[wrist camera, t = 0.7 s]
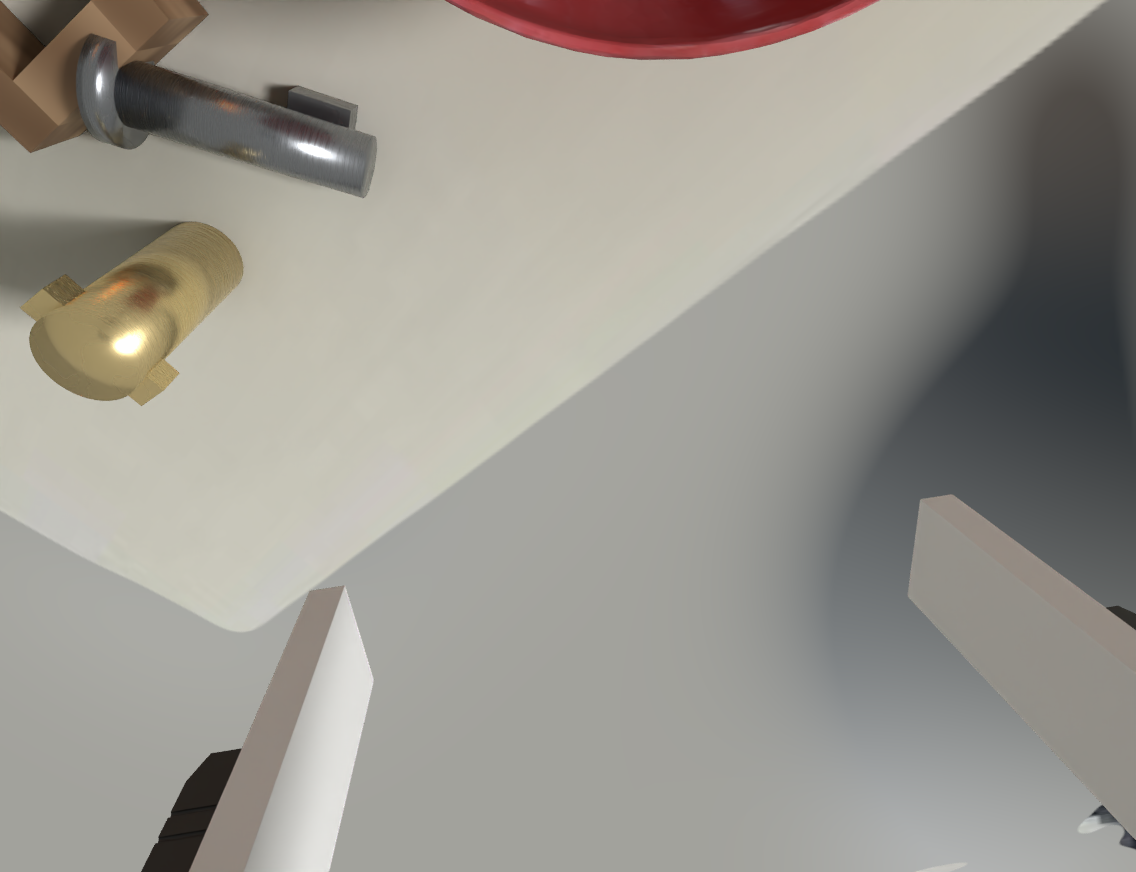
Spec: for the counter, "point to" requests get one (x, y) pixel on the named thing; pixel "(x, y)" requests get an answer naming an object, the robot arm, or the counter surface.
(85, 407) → the counter surface
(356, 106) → the shaft
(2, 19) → the coupling block
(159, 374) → the joint pin
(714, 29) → the mixing bowl
